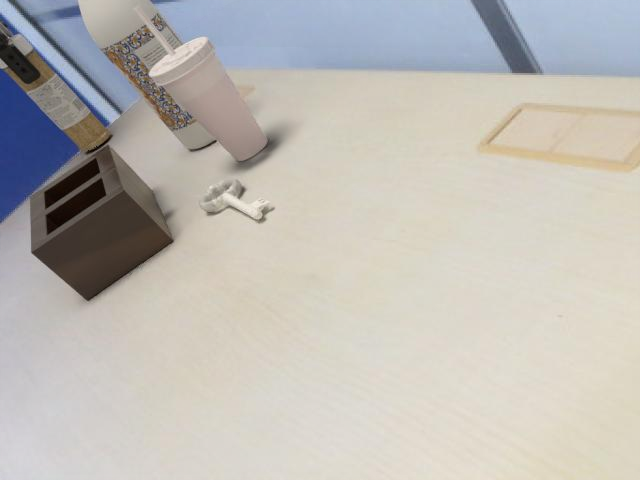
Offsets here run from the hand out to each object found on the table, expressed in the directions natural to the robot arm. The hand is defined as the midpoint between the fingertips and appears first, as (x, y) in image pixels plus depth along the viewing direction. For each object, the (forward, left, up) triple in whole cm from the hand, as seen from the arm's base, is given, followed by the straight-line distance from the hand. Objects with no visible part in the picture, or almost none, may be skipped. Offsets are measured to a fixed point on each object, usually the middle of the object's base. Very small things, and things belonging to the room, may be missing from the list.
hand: (33, 75), depth 92 cm
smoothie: (+32, -26, -10) cm, 42 cm away
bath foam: (+24, -16, -10) cm, 30 cm away
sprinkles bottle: (0, 0, -10) cm, 10 cm away
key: (+34, -38, -10) cm, 52 cm away
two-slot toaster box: (+19, -34, -10) cm, 40 cm away
